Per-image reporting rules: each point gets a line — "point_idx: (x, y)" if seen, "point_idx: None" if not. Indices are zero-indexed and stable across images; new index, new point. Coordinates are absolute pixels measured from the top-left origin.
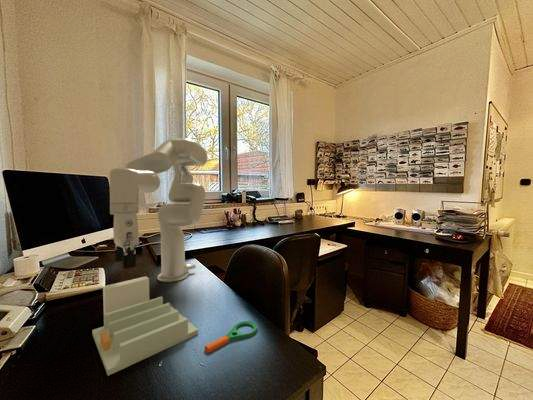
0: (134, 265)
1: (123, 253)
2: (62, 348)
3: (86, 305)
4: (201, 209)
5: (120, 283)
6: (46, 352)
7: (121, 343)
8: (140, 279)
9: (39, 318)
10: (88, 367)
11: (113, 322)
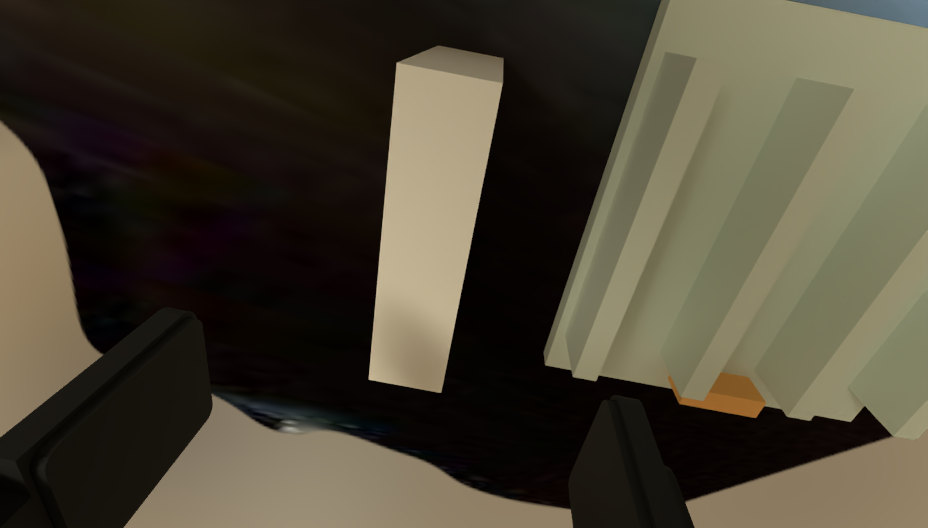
0: (636, 419)
1: (128, 428)
2: (544, 421)
3: (221, 276)
4: None
5: (406, 296)
6: (524, 446)
7: (901, 431)
8: (451, 154)
9: (236, 404)
10: (733, 417)
11: (703, 385)
